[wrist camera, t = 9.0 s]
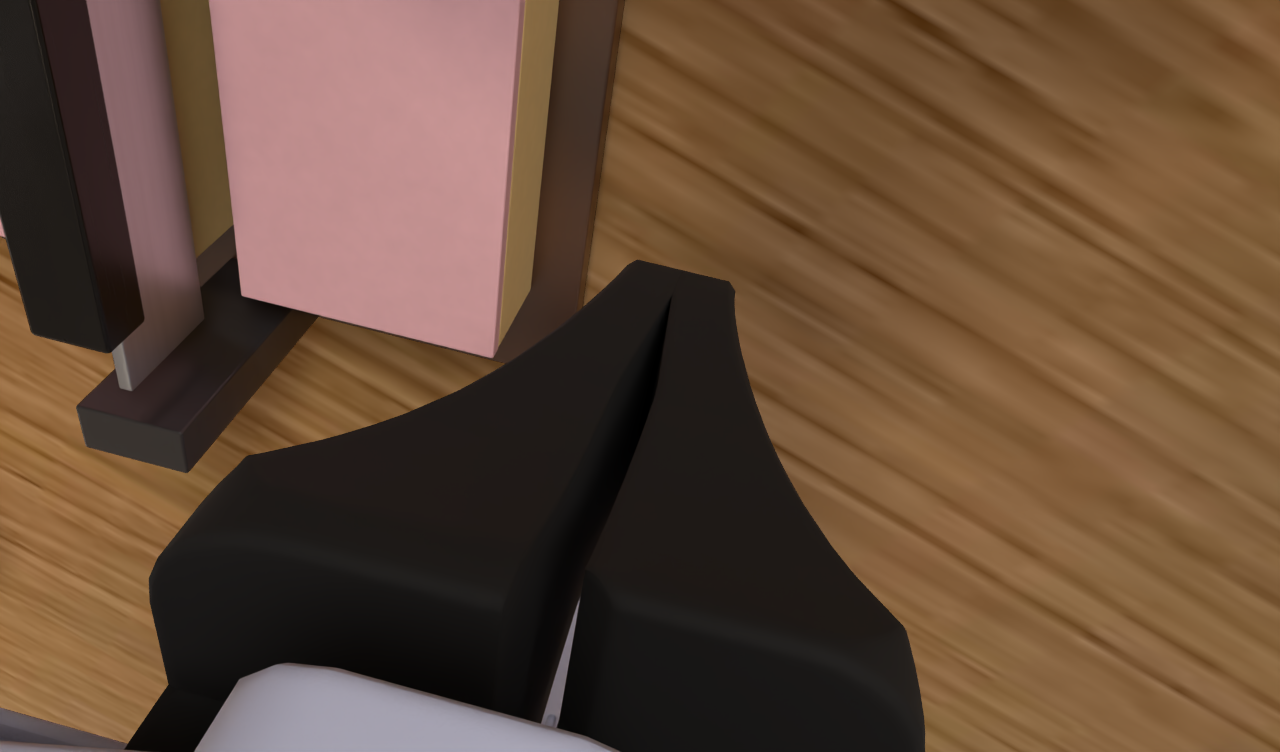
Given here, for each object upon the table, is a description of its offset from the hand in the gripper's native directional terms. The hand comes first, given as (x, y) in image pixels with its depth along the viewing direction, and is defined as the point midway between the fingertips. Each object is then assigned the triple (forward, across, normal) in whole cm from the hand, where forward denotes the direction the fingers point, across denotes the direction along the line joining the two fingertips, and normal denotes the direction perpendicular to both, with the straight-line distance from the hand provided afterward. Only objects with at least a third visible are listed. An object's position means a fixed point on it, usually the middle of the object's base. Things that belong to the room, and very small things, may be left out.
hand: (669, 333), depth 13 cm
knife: (+6, +11, 0) cm, 13 cm away
